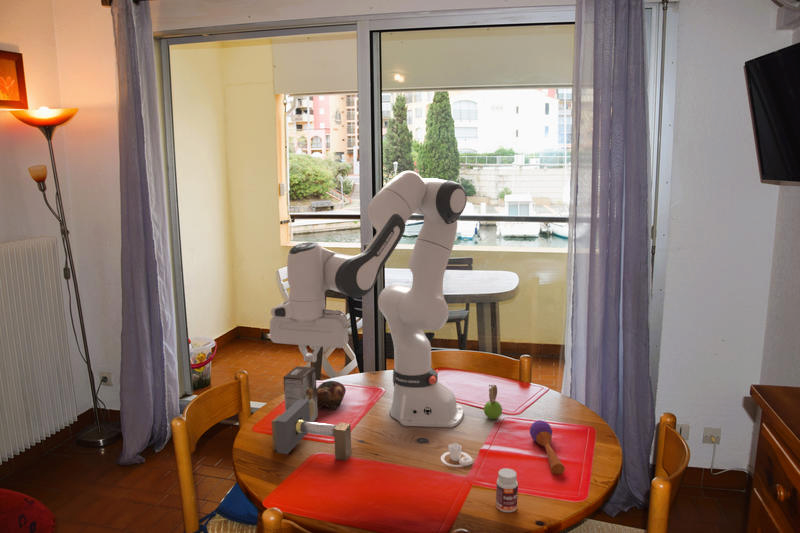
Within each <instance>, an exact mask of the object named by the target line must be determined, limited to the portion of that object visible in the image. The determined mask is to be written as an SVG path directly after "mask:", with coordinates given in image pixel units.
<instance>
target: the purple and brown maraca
mask: <svg viewBox="0 0 800 533" xmlns="http://www.w3.org/2000/svg"><path fill="white" fill-rule="evenodd" d="M529 434H530V437H531V438H532V440H533V441H534V442H536V443H537V444H538V445H540V446H542V447H544V448H545V452H546V454H547V455H546V456H547V459H548V464H549V467H550V472H551V474H553V475H554V474H559V475H563V474H564V472H565V471H566V470H565V469H566V468H565V466H564V464H563V462H562V461H561V460H560V459H559V457H558V455H557V454H556V453H555V451H554V450H553V448H552V447H551V446H550V444H551V442H552V439H553V438H552V437H553V429H552V427H551V425H550V424H549V423H548V422H547V421H544V420H541V419H540V420H535V421H534V422H533V423H531V426H530V428H529Z"/></svg>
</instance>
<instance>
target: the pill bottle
mask: <svg viewBox="0 0 800 533" xmlns="http://www.w3.org/2000/svg"><path fill="white" fill-rule="evenodd" d="M497 475H498V476H497V477H498V478H497V479H496V490H495V491H496V492H495V506H496V508H497V509H498V510H500V511H501V512H503V513H513V512H515V511H517V509H518V493H519V491H518V490H519V489H518V488H519V483H518V480H517V477H518V476H517V471H516V470H514V469H511V468H508V467H507V468H506V467H503V468H501V469H499V470H498V474H497Z"/></svg>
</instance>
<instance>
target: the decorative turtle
mask: <svg viewBox="0 0 800 533" xmlns="http://www.w3.org/2000/svg"><path fill="white" fill-rule="evenodd" d="M316 389H317V408H318V409H321V408H323V406H326V407H328V408H329V410H331V411H334V410H335V409H336V407H337V406H338V405H341V404H342V402H343V400H344V397H345V394H346V390H347V389H346V387H345V386H344V384H343V383H341V382H339V381H335V380H328V381H325V382H322V383H320V384H319V385H318V386H316Z"/></svg>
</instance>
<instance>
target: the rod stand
mask: <svg viewBox="0 0 800 533" xmlns="http://www.w3.org/2000/svg"><path fill="white" fill-rule="evenodd" d="M281 415H282V414H278V415H276V417H274V418H273V420H271V428H272V430H271V431H272V447H273V448H272V449H273V451H276V452H277V444H276V427H275V420H276V419H277V418H279V417H280V416H281ZM295 430H296V432H299V433H302V432H303V433H307V434H311V435H319V436H326V437H333V438H334V439H333V440H334V460H336V461H337V460H338V461H343V462H345V461H347V460H348V459H349V457H350V456H351V455H352V430H351V423H347V422H339V423H338V424H332V423H323V422H316V421H314V422H309V421H304V420H297V421H296V422H295Z"/></svg>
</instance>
